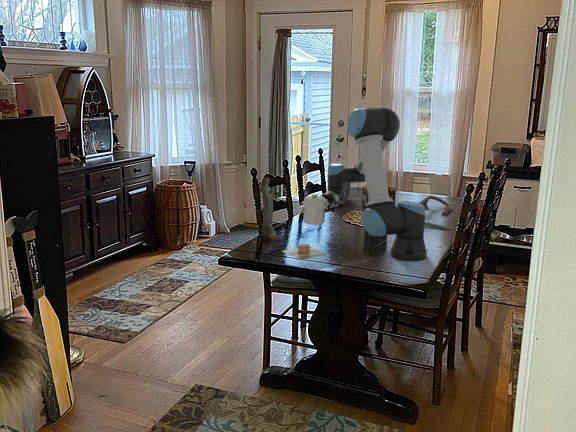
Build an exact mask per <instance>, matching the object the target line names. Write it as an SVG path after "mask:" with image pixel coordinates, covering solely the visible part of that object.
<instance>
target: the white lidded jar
mask: <svg viewBox="0 0 576 432" xmlns="http://www.w3.org/2000/svg"><path fill="white" fill-rule="evenodd" d="M303 202H304V212H303V223H305V224H306V225H311V226H316V225H317V226H319V225H323V224H325V222H326V213H324V214H323V215H320V209H321V208H323V207H324V206H325V198H324V197H322V196H321V195H318V194H315V193H312V194H311V195H308V196H305V197H304V199H303Z"/></svg>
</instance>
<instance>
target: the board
mask: <svg viewBox="0 0 576 432" xmlns="http://www.w3.org/2000/svg"><path fill="white" fill-rule="evenodd" d="M281 252H282V253H284V254H286V255H288V256H290V257H293V258H295V259H296V260H299V261H301V260H307V259H312V258H315V257H316V258H317V257H320V256H325V255H327V253H325V252H322V251H320V250H318V249H316V248H314V247H311V246H310V253H309V254H299V253H298V247H294V248H289V249H284V250H281Z"/></svg>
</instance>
